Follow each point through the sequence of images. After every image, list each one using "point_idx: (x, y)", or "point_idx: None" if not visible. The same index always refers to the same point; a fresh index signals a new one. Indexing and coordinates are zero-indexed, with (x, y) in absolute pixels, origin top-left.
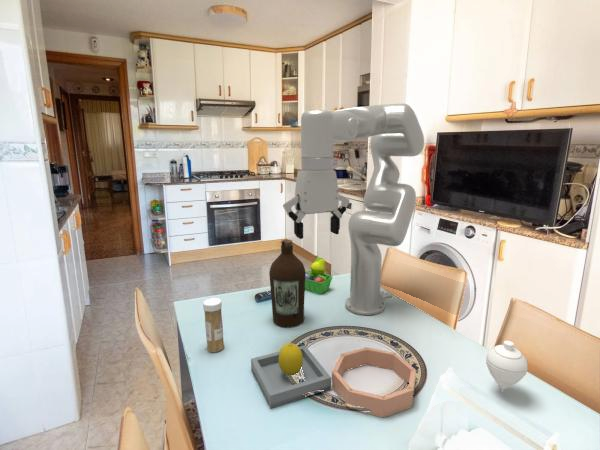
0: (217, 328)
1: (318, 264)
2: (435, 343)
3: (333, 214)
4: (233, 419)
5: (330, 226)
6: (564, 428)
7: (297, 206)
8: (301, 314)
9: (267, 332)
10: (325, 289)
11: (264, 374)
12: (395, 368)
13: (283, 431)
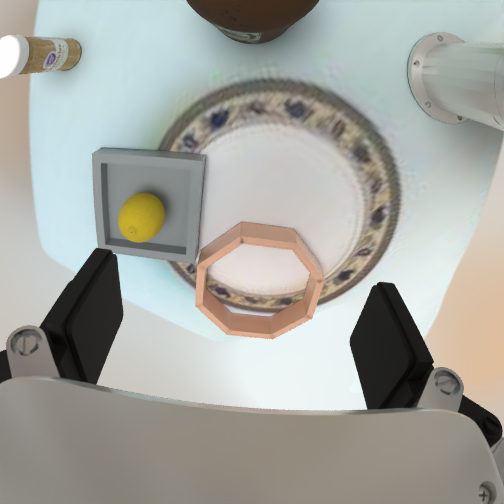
0: (41, 71)
1: None
2: (424, 252)
3: (413, 404)
4: (63, 233)
5: (386, 304)
6: (360, 383)
7: (7, 407)
8: (272, 38)
9: (178, 34)
10: None
11: (101, 205)
12: (311, 275)
13: None
